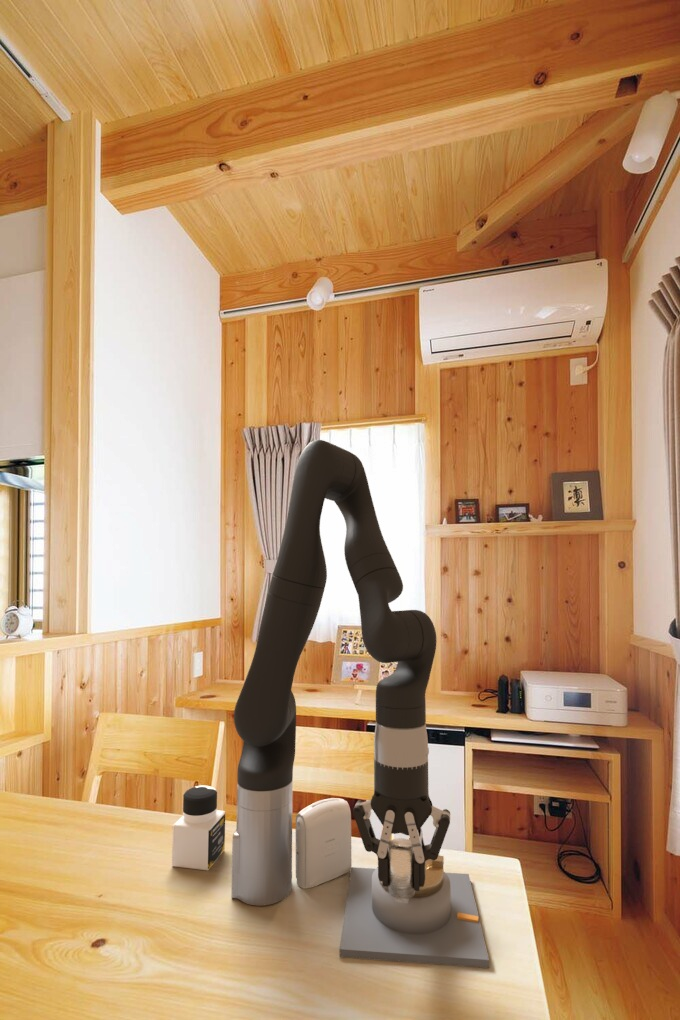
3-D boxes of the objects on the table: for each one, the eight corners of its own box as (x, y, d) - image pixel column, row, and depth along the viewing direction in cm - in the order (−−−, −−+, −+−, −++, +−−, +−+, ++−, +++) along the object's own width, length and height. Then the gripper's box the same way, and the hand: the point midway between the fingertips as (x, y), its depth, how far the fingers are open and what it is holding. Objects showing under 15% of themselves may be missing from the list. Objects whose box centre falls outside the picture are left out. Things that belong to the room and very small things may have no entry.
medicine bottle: (208, 871, 94) (210, 799, 95) (171, 867, 96) (173, 796, 97) (225, 850, 101) (226, 783, 102) (190, 846, 103) (191, 780, 104)
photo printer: (304, 893, 88) (304, 813, 89) (291, 880, 92) (291, 804, 93) (355, 873, 94) (355, 798, 95) (341, 861, 97) (341, 789, 99)
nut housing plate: (339, 957, 74) (339, 917, 74) (351, 873, 94) (351, 842, 94) (489, 968, 72) (488, 927, 72) (468, 880, 92) (468, 849, 92)
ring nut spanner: (384, 856, 89) (383, 795, 90) (445, 864, 87) (444, 802, 88) (363, 921, 73) (363, 846, 74) (438, 934, 71) (437, 856, 72)
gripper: (345, 760, 74) (345, 894, 72) (451, 769, 70) (454, 910, 69) (356, 742, 81) (356, 864, 79) (453, 750, 78) (455, 877, 76)
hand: (402, 884), depth 74 cm, fingers closed on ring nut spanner, 3 cm apart
